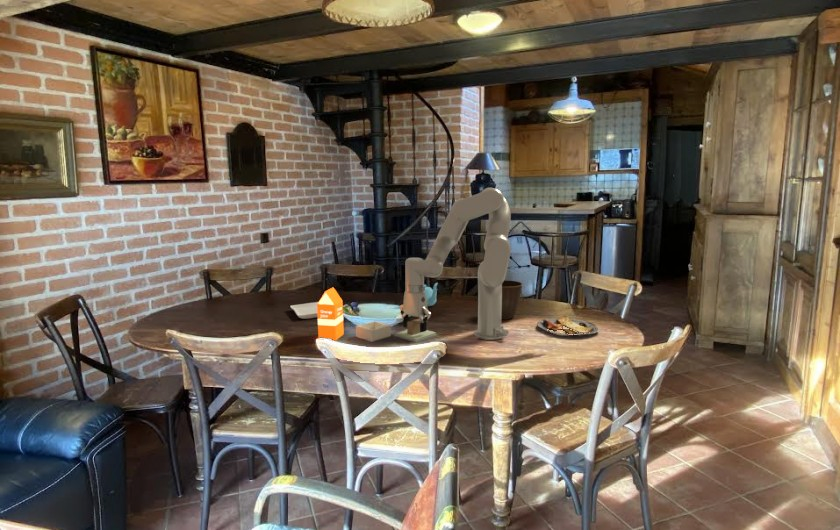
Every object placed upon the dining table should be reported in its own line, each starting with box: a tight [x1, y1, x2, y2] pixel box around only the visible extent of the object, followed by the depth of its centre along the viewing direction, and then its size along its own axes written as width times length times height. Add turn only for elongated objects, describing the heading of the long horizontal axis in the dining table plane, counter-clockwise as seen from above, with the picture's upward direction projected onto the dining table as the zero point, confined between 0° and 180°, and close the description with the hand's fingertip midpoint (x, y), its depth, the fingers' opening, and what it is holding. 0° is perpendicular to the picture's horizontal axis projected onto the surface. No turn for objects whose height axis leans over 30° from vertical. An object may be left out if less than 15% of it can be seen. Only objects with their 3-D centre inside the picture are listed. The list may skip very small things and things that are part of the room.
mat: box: [391, 333, 439, 343], centre depth 214 cm, size 14×14×1 cm
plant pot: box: [501, 279, 523, 320], centre depth 240 cm, size 15×15×16 cm
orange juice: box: [317, 287, 345, 341], centre depth 213 cm, size 8×9×20 cm
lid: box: [394, 318, 437, 341], centre depth 214 cm, size 12×12×6 cm
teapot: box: [424, 282, 439, 307], centre depth 267 cm, size 15×15×10 cm
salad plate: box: [290, 301, 319, 320], centre depth 251 cm, size 21×21×3 cm
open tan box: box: [355, 320, 392, 343], centre depth 212 cm, size 10×10×5 cm
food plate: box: [536, 315, 600, 337], centre depth 221 cm, size 25×23×4 cm
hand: (414, 329), depth 214 cm, fingers open, 9 cm apart
